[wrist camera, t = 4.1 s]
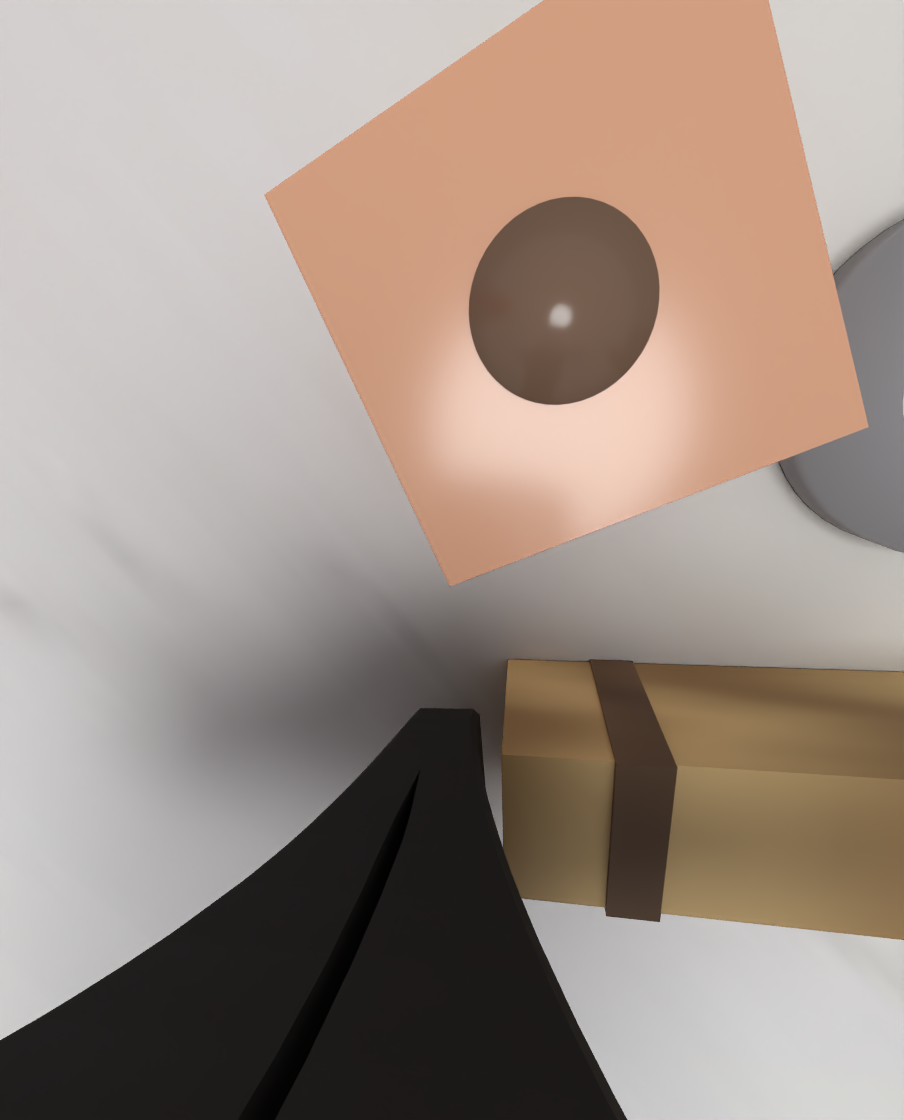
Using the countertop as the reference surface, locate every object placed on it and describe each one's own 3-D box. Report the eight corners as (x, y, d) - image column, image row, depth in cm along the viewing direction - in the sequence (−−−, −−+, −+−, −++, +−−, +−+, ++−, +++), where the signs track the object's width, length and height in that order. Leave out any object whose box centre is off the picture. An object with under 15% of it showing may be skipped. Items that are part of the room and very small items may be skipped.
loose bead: (482, 511, 9) (448, 589, 5) (388, 296, 8) (260, 191, 4) (704, 418, 8) (874, 427, 4) (623, 159, 7) (741, -148, 3)
